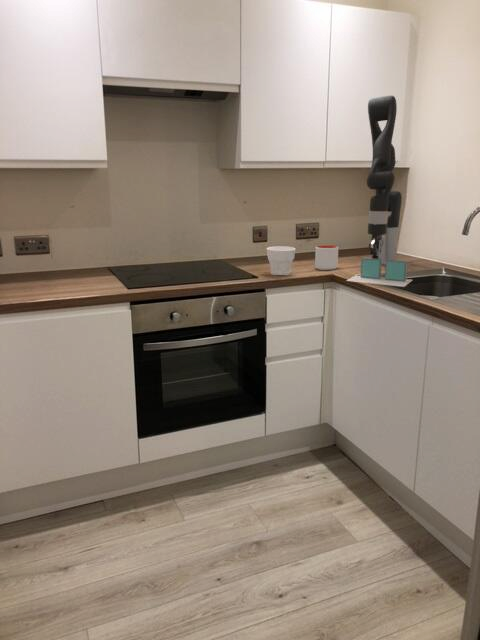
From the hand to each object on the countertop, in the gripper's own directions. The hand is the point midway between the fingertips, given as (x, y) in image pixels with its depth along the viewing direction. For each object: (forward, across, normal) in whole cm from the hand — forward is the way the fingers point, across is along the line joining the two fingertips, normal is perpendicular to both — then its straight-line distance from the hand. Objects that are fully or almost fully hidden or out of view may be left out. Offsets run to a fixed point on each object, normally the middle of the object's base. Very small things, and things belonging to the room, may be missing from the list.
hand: (374, 264), depth 213 cm
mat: (+5, +8, +4) cm, 11 cm away
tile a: (+5, +5, 0) cm, 7 cm away
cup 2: (+5, -7, -24) cm, 26 cm away
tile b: (+5, +5, +10) cm, 12 cm away
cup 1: (+5, +13, -37) cm, 40 cm away
